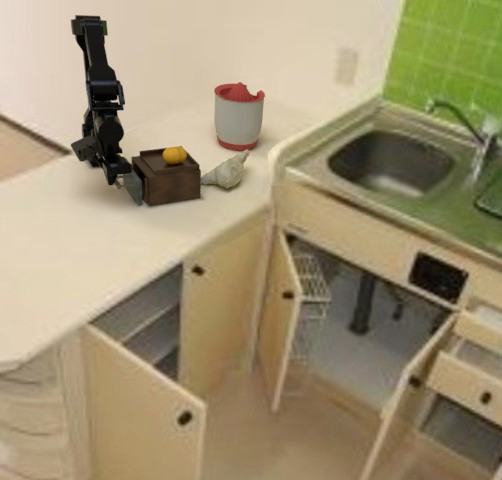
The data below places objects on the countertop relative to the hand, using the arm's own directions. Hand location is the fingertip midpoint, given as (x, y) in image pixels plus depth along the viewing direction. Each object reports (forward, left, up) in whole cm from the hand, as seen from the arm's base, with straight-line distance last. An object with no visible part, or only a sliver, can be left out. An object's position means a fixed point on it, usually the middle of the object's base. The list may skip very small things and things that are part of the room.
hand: (110, 184), depth 167 cm
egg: (0, +17, +5) cm, 18 cm away
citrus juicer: (-24, +49, -5) cm, 55 cm away
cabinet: (0, +15, -4) cm, 16 cm away
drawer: (0, +10, -4) cm, 10 cm away
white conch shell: (-1, +34, -5) cm, 35 cm away
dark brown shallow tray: (0, +15, +4) cm, 16 cm away
